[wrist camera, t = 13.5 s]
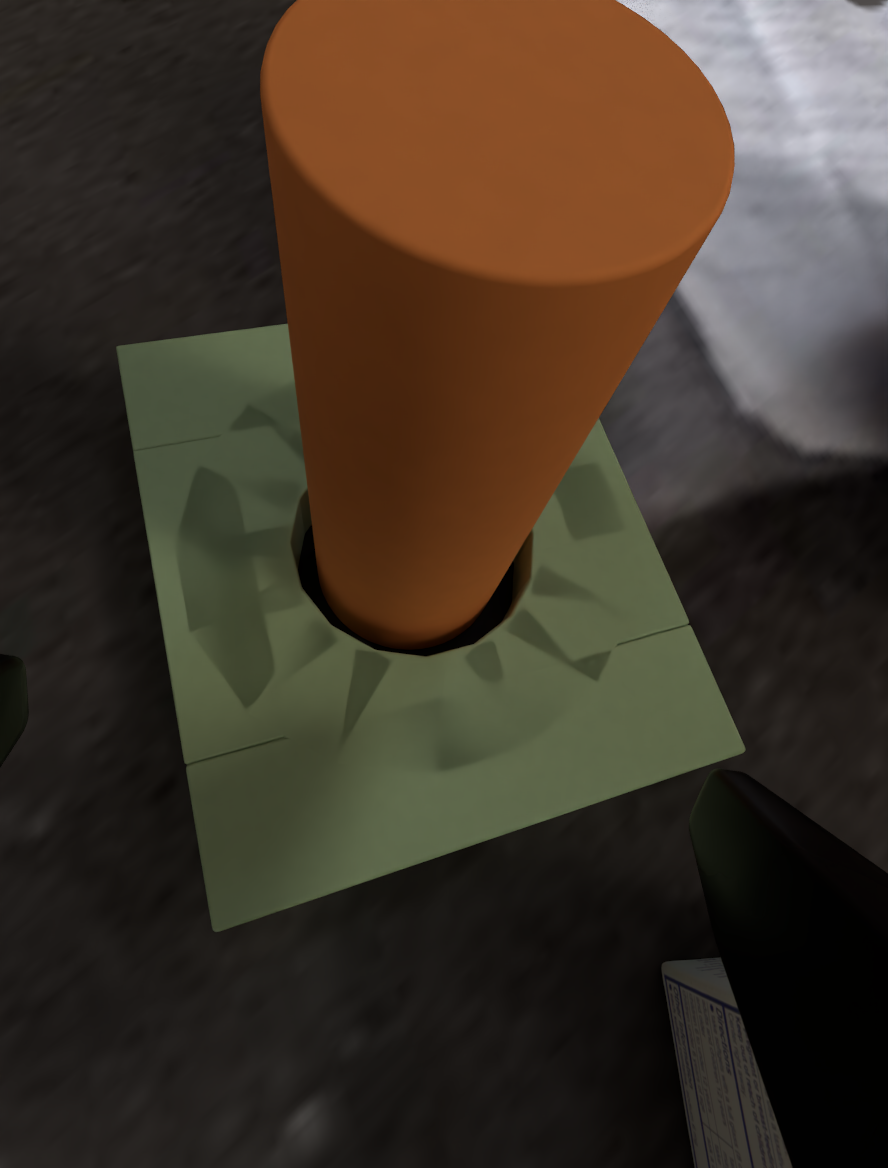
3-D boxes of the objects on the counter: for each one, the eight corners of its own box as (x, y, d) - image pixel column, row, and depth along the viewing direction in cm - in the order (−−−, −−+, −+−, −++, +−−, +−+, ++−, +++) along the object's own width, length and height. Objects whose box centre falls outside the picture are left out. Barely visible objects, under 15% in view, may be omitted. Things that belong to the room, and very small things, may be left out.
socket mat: (704, 760, 17) (748, 751, 15) (230, 920, 14) (212, 934, 12) (525, 337, 21) (542, 289, 19) (138, 395, 18) (115, 345, 16)
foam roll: (516, 626, 17) (820, 250, 6) (340, 670, 16) (322, 311, 5) (464, 474, 19) (632, -50, 8) (300, 506, 18) (217, -53, 6)
